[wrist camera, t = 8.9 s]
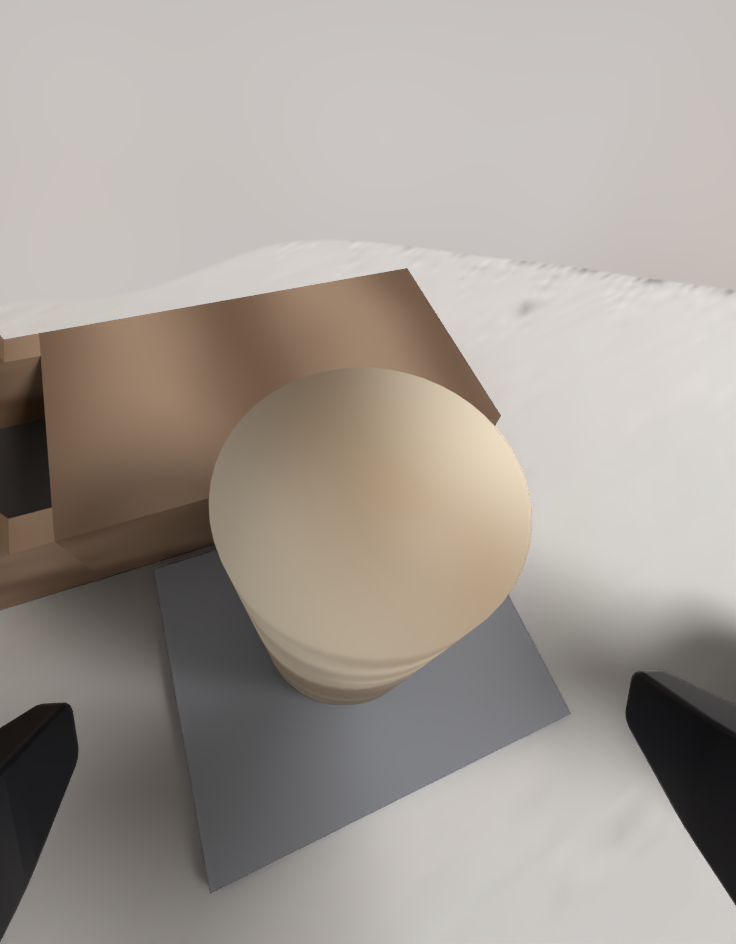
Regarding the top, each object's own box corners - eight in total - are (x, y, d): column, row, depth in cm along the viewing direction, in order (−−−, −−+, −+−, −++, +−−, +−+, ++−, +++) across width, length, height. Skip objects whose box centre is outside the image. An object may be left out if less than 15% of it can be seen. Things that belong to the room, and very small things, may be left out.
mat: (443, 483, 17) (446, 477, 17) (564, 714, 13) (571, 713, 13) (157, 573, 14) (153, 569, 14) (213, 888, 11) (210, 893, 10)
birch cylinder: (327, 747, 12) (342, 748, 5) (232, 599, 14) (147, 453, 7) (457, 631, 14) (595, 520, 7) (359, 513, 16) (394, 330, 9)
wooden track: (396, 327, 21) (416, 218, 16) (473, 463, 17) (524, 372, 13) (-477, 512, 14) (-848, 405, 9) (-625, 802, 10) (-1303, 845, 6)
